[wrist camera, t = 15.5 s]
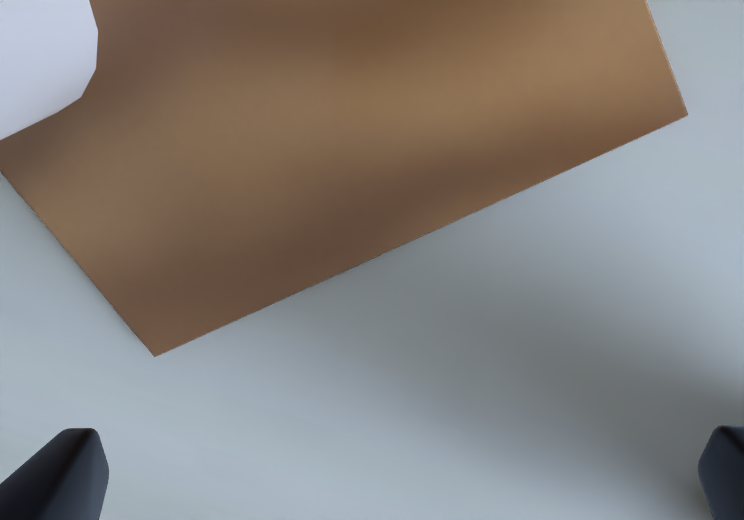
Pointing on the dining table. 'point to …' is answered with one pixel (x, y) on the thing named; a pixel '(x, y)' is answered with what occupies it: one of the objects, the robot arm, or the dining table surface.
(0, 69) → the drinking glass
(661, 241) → the dining table surface
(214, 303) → the glossy brown placemat
